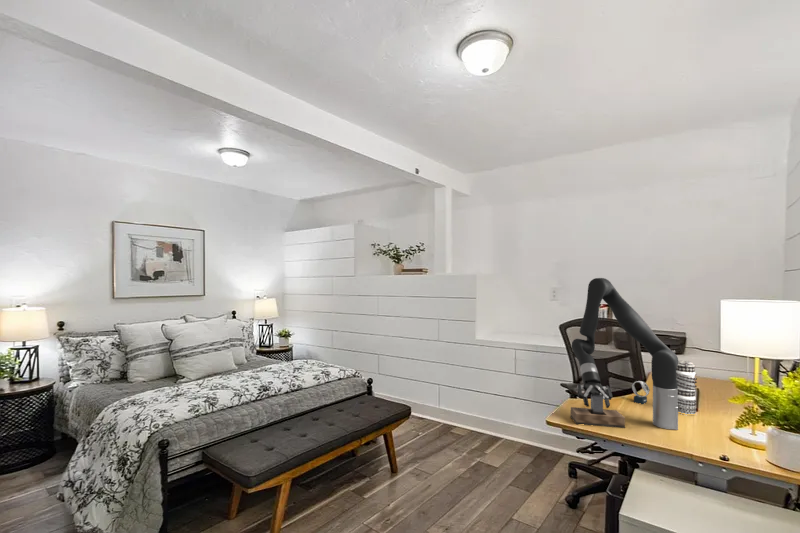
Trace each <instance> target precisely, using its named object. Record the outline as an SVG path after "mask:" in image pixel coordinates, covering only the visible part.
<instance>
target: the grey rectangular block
mask: <svg viewBox="0 0 800 533" xmlns="http://www.w3.org/2000/svg"><path fill="white" fill-rule="evenodd" d="M590 408H591V414H599V415H603V409H604V399H603V396H601V395H600V394H591V395H590Z"/></svg>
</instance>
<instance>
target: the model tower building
mask: <svg viewBox="0 0 800 533" xmlns="http://www.w3.org/2000/svg"><path fill="white" fill-rule="evenodd" d="M678 361H679V362H678V366H677V367H676V379H677V383H678V412H681V413H685V414H695V413H696V414H697V407H696V405H697V400H696V391H697V386H698V385H696V384H697V383H698V382H697V381H696V380H698V378H696V376H697V373H696V368H695V367H696V365H694V362H692V361H689V360H688V361H687V360H678Z"/></svg>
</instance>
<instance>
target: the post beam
mask: <svg viewBox="0 0 800 533" xmlns="http://www.w3.org/2000/svg"><path fill="white" fill-rule="evenodd" d="M570 419H572V420H574V421H573V422H574V423H575V425H578V424H584V425H583V426H591V425H593V426H594V427H605V428H606V427H607V428H620V429H625V428H626V417H625V416H624V415H623V414H621V413H620V412H619V411H618V410H617V409H606V408H605V409H604V408H603V415H599V414H591V407H590V408H588V407H574V406H573V407H572V406H570Z"/></svg>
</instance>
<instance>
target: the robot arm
mask: <svg viewBox="0 0 800 533" xmlns="http://www.w3.org/2000/svg"><path fill="white" fill-rule="evenodd" d="M587 285H588V287H587V295H586V296H587V298H586V303H585V309H584V312H583V313H584V314H583V317H582V321H581V324H580V328H579V334H580V335H582V336H583V337H586V340H585V339H582V338H575V339H573V340H572V342H571V349H572V352H573V354H574V355H575V357H576V359H577V360H578V364H579V367H580V368H579V369H580V376H581V380H582V383H583V384H580V383H577V386H576V391H577V397H578V398H579V399H582V400H583V405H584V406H585V408H588V407H589V404H590V403H589V400H588V396H589V395H590V396H591V394H600V395H601V396H603V401H604V404H605V409H609V407H610V406H611V403H610V401H611V400H612V399H613V393H612V390H611V388H610V386H609V385H606V386H605V385H604V386H603V385H602V384H601V378H600V375H599V371H598V368H597V366H596V362H595V359H594V356H593V355H592V354H594V351H595V349H596V346H595V343H596V342H595V336H596V335H595V333H596V330H597V327H598V323H599V315H600V314H599V312H600V306H601V302H602V300H603V301H604V302H605V304H607V305H608V307H609V308H610V310H611V312H612V313H613V316H614V318H615V319H616V321H617V323H618V324H619V325H620V326H621V327H622V329H624V331H625V332H626V333H627V334H628V335H629V336H630V337H631V338H633V339H634V340H635V341H636V342H638V343H640V344H641V345H642V346H643V347H644V348H645V350H646V351H647V352H648V354H650V355H651V365H650V366H651V379H652V425H654V426H655V427H658V428H661V429H666V430H677V431H678V430H679V413H678V383H677V379H676V367H677V366H678V362H679V361H680V360H679V357H678V355H676V353H675V352H674V351H673V350H672V349H670V348H669V347H668V346H667V345H666V344H665V343H664V342H663V341H662V340H661V339H660V338H659V337H658V336H657V335H656V334H655V332H654V331H653V329H652V328H651V327H650V326H649V325H648V324H647V322H646V321H645V320H644V319H643V318H642V317H641V316H640V314H639V313H638V312H637V311H636V310H635V309H634V308H633V307H632V306H631V305H630V304H629V303H628V302H627V301H626V300H625V299H624V298H623V297H622V296H621V295H620V294H619V292H618V291H617V290H616V287H615V286H614V285H613V284H612V282H611V281H610V280H609V279H607V278H604V277H597V278H593V279H592V280H590V281H589V283H588V284H587ZM583 389H584V391H585V392H584V393H582V391H583Z"/></svg>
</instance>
